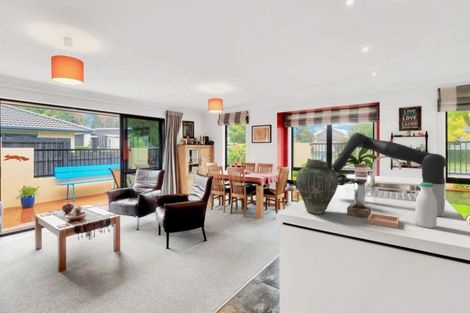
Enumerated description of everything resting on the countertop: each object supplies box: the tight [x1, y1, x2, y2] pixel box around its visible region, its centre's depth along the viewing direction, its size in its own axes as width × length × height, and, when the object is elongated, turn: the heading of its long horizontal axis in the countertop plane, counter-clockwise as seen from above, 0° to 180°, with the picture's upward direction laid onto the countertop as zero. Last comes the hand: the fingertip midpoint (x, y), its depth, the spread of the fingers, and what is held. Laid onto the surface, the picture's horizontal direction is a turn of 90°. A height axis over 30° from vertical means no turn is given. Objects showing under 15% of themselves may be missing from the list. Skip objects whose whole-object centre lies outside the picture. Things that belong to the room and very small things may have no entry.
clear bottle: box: [353, 178, 368, 209], centre depth 128 cm, size 6×6×19 cm
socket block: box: [346, 203, 372, 219], centre depth 128 cm, size 10×10×4 cm
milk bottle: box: [414, 182, 438, 229], centre depth 109 cm, size 8×8×20 cm
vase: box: [295, 158, 339, 215], centre depth 132 cm, size 22×22×30 cm
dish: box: [366, 212, 400, 230], centre depth 114 cm, size 12×12×2 cm
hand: (349, 182), depth 139 cm, fingers open, 8 cm apart
